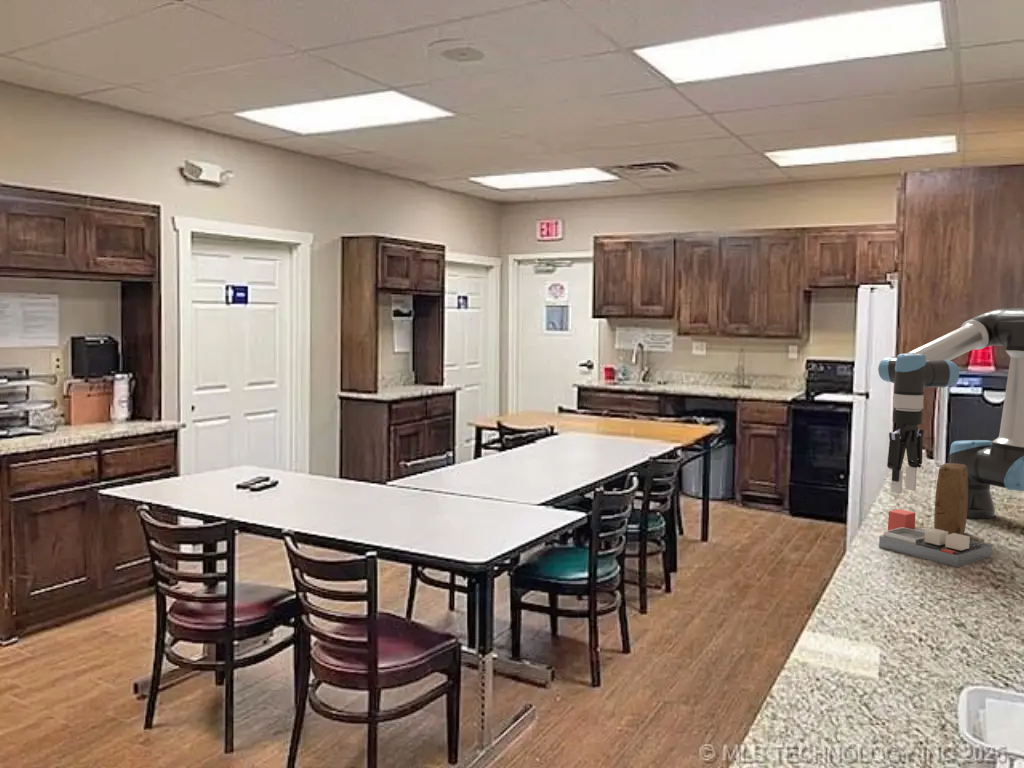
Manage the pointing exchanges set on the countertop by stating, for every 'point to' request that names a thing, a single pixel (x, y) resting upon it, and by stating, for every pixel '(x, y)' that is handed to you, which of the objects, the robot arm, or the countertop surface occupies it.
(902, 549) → the panel
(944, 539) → the toggle
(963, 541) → the toggle
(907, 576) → the countertop surface
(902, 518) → the coral toy cube
